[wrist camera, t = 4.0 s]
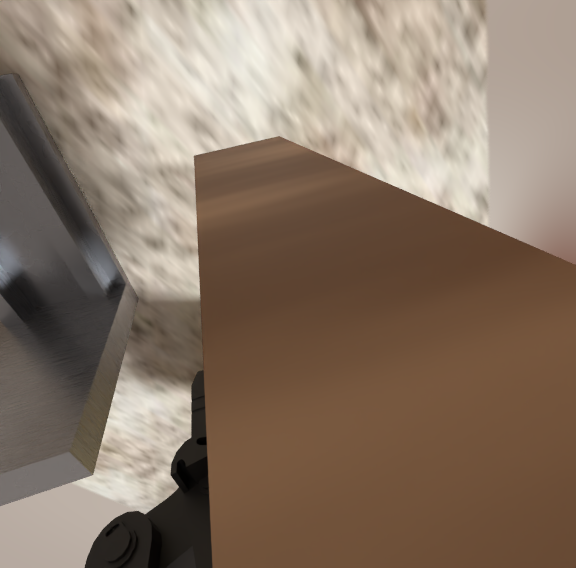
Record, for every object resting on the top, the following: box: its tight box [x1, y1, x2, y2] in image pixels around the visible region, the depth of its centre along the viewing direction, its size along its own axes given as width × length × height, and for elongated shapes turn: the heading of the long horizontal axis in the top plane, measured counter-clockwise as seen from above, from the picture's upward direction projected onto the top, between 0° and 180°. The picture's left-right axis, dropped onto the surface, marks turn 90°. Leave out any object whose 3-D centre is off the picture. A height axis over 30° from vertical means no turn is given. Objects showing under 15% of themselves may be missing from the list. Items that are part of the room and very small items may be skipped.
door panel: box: [194, 136, 576, 568], centre depth 10 cm, size 12×4×14 cm, turn 10°
